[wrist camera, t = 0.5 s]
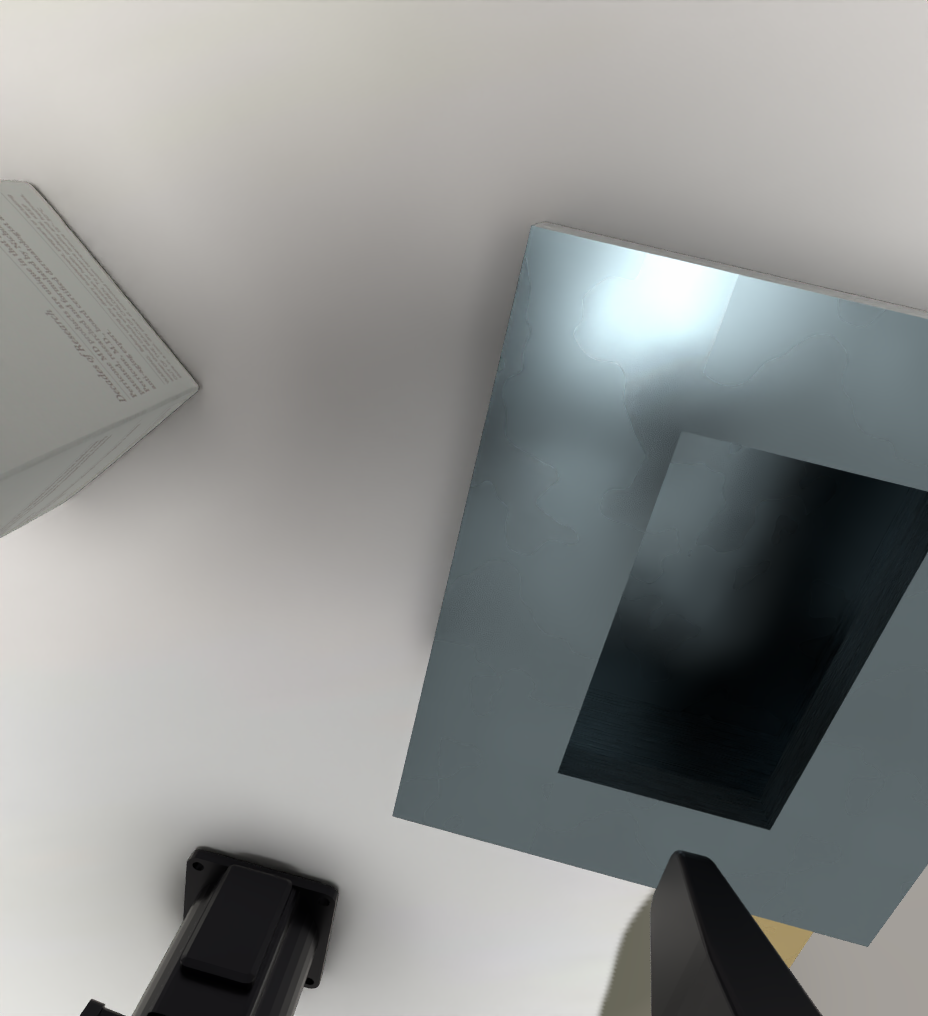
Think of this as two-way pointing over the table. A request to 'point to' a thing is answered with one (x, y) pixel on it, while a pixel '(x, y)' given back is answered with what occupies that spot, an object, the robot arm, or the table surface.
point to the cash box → (692, 587)
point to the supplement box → (68, 363)
